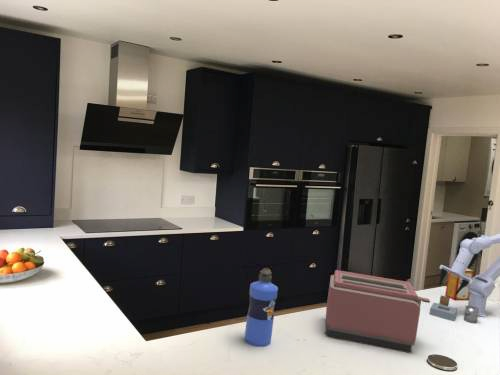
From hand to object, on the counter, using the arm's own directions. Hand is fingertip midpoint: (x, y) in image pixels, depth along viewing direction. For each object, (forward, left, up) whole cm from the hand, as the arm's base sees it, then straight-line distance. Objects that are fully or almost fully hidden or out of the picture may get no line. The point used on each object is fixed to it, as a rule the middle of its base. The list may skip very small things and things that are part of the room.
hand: (447, 290), depth 198 cm
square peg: (-4, -1, -11) cm, 12 cm away
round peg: (+2, +11, -11) cm, 15 cm away
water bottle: (+90, -47, -11) cm, 102 cm away
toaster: (+54, -18, -11) cm, 58 cm away
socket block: (+4, 0, -11) cm, 11 cm away
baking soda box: (-31, +2, -11) cm, 33 cm away
